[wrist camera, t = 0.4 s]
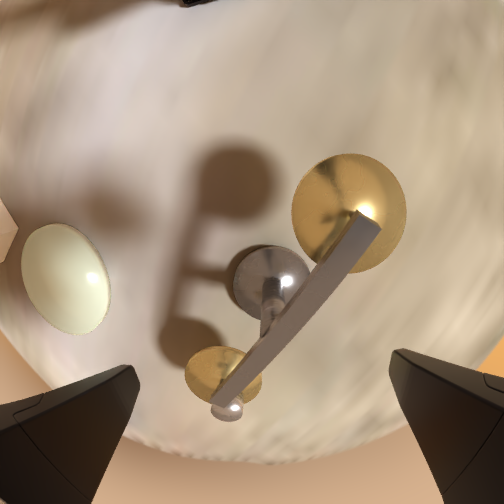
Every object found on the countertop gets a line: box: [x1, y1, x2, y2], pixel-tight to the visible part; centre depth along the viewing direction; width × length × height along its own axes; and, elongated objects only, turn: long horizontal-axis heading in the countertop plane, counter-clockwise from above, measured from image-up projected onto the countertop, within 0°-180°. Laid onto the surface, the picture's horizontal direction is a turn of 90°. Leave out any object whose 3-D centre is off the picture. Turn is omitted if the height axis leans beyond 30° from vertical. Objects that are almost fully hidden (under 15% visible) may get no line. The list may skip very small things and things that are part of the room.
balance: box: [185, 154, 406, 422], centre depth 18 cm, size 21×6×10 cm, turn 151°
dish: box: [21, 223, 111, 335], centre depth 23 cm, size 11×11×1 cm
